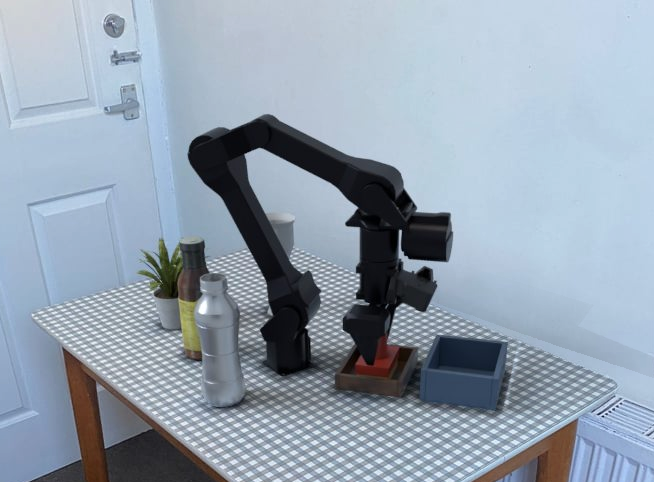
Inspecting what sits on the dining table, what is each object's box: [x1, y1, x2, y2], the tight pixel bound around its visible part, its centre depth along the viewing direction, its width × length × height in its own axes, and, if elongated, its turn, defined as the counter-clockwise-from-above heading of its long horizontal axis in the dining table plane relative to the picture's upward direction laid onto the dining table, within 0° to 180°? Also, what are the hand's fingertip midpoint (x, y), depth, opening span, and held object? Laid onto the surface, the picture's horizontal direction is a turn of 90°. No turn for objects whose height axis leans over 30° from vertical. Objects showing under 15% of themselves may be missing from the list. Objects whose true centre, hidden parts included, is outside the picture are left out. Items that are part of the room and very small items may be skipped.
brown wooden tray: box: [334, 342, 419, 399], centre depth 124 cm, size 10×12×3 cm
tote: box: [419, 334, 509, 411], centre depth 120 cm, size 11×13×6 cm
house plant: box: [136, 237, 211, 330], centre depth 141 cm, size 14×14×16 cm
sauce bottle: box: [177, 236, 210, 361], centre depth 130 cm, size 6×6×20 cm
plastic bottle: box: [194, 272, 247, 408], centre depth 115 cm, size 6×7×20 cm
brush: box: [355, 333, 399, 379], centre depth 123 cm, size 8×5×7 cm
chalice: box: [265, 211, 296, 317], centre depth 145 cm, size 7×7×18 cm
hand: (377, 352), depth 123 cm, fingers open, 9 cm apart
